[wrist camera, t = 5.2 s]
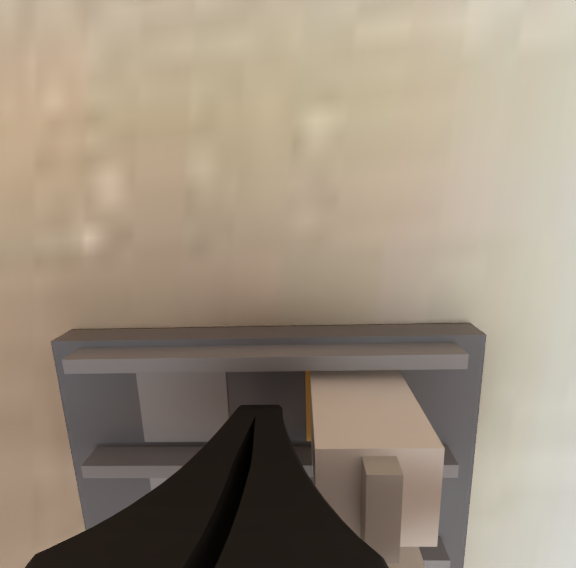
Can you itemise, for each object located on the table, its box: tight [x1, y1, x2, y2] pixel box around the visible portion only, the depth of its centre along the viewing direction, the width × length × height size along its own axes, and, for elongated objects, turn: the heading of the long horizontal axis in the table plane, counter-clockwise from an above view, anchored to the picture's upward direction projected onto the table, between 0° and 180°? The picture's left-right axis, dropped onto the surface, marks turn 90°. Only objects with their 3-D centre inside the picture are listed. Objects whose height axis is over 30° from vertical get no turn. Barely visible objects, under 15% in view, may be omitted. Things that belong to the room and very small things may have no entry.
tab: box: [310, 370, 445, 563], centre depth 10 cm, size 3×3×5 cm
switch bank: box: [51, 323, 486, 568], centre depth 14 cm, size 15×13×2 cm
